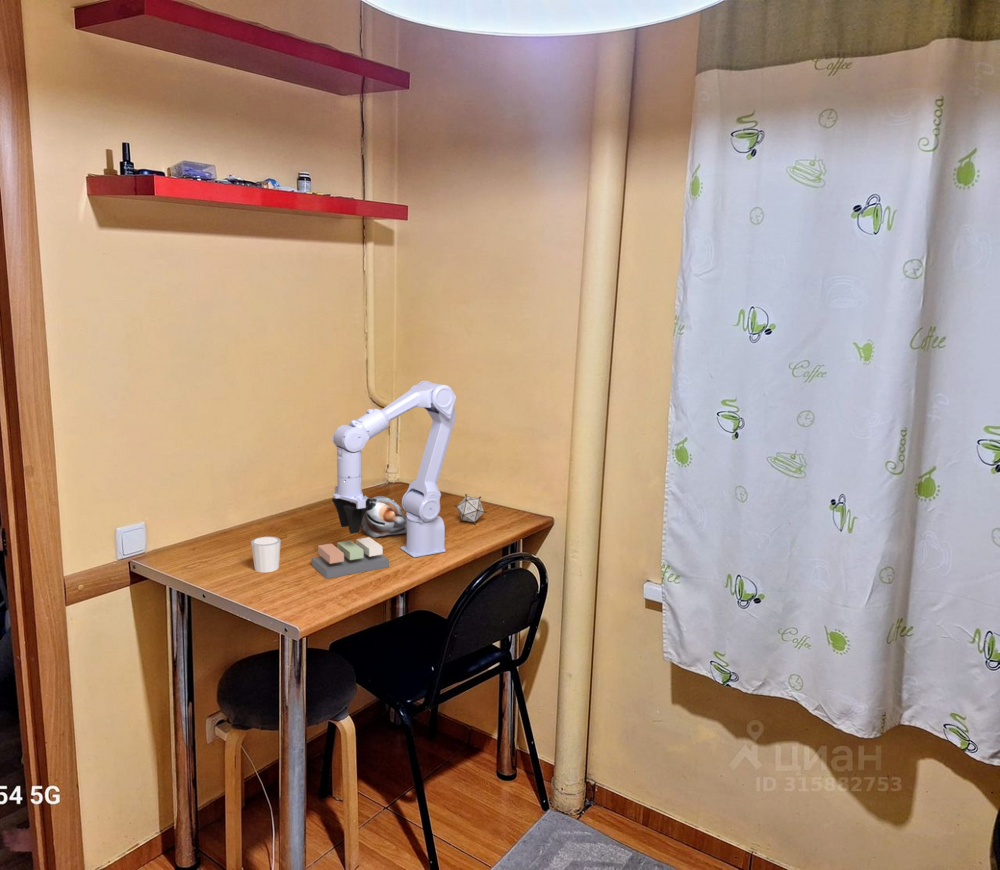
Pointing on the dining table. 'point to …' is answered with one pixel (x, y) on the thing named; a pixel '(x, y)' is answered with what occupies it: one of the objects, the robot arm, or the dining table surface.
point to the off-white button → (370, 546)
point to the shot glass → (266, 553)
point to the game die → (470, 509)
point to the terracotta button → (330, 553)
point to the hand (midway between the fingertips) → (350, 529)
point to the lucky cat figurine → (383, 517)
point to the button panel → (349, 565)
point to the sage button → (350, 550)
